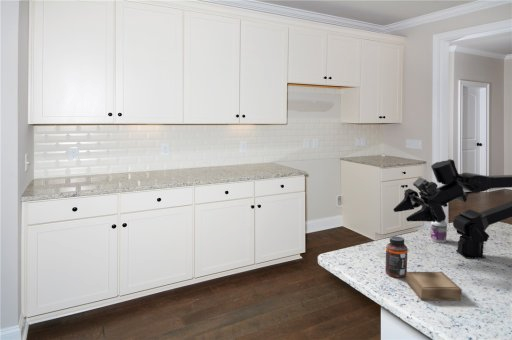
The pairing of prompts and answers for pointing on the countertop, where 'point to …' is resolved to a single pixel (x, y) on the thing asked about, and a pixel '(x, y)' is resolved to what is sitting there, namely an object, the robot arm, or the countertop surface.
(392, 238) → the supplement bottle
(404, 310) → the countertop surface
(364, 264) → the countertop surface
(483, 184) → the robot arm
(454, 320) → the countertop surface
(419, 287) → the walnut plinth
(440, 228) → the pill bottle
